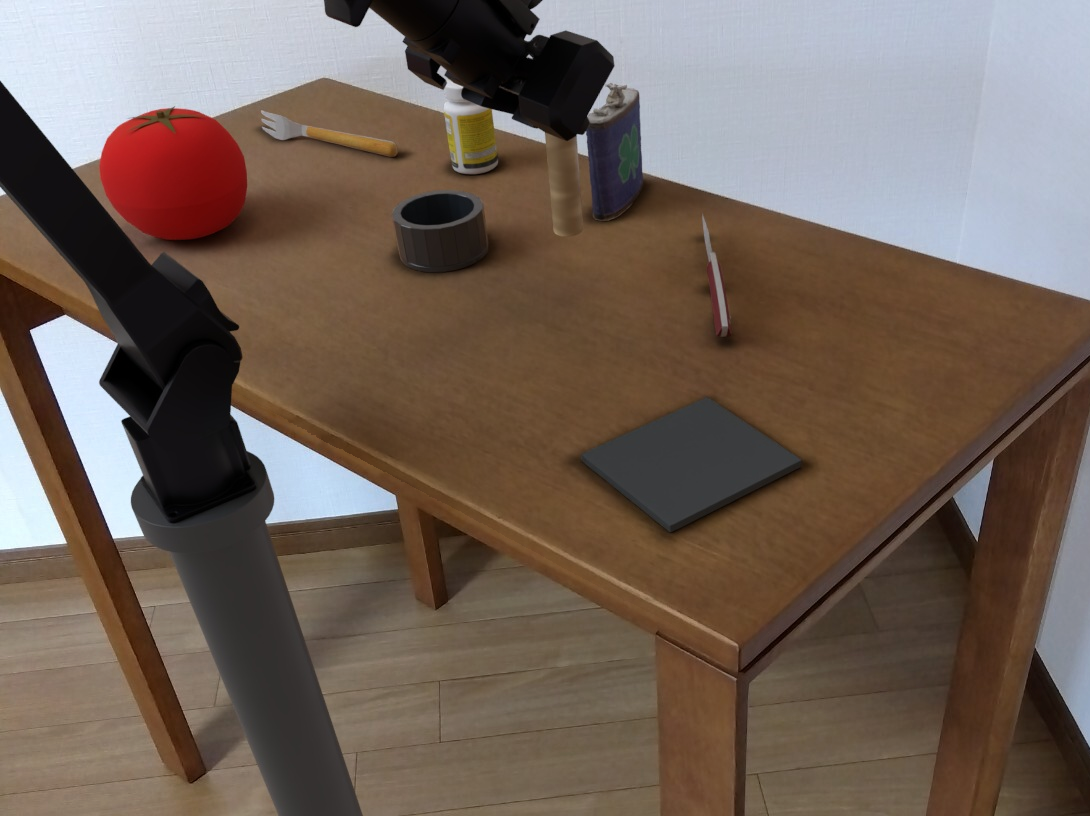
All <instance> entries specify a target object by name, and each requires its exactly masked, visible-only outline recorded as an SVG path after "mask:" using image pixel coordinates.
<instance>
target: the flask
mask: <svg viewBox="0 0 1090 816" xmlns="http://www.w3.org/2000/svg"><path fill="white" fill-rule="evenodd" d="M604 87H607V88H608V89H609V91H610V92H609V93H608V94H607V96H606V98H605V104H604V105H602V106H601V107H599V108H593V111H592V112H591V113H590V112H589V114H588V116H587V117H588V119H589V121H590V124H589V126H588V128H587V130H586V132H585V135H586V147H587V158H588V159H587V160H588V167H589V168H588V169H589V172H588V173H589V181H590V191H591V200H592V201H591V202H592V203H591V205H592V217H593V218H594V220H595V221H601V222H606V221H611V220H613V219H614V220H615V219H616V218H618V217H619V216H621V215H622V214H623V213H624V212H626V211H627V210H628V209H630V207H632V205H633V204H634V203H635V200H637V198H638V196H639V195H640V194H641V192H642V190H643V186H644V174H643V155H642V134H641V132H642V131H641V130H642V129H641V102H640V99H641V98H640V91H639V90H638V89H636V88H631V87H629V88H628V85H627V84H625V85H621V84H616V83H613V82H609V83H605V84H604Z"/></svg>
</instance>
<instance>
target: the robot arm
mask: <svg viewBox="0 0 1090 816" xmlns="http://www.w3.org/2000/svg"><path fill="white" fill-rule="evenodd" d="M543 1H544V0H323V5H324V13H325V15H326V17H328V18H330V19H333V20H335V21H338V22H341V23H343V24H346V25H348V26H351V27H354V28H358V27H360V26H361V24H362V23H363V21H364V19H365V17H366V15H367V13H368V11H369V9H370V10H371V11H373V12H374V13H375V14H376V15H378V16H379V17H380V18H381V19H383V21H385V22H386V23H388V24H389V25H390V26H391V27H392V28H394V29H395V30H396V31H398V32H399V33H400V34H401V35H402V36H404V38H403V40H402V43H403V44H404V45H405V46H406V48H405V50H404V54H405V61H406V67H407V70H408V71H410V73H412V74H414V75H415V76H416V77H417V78H419V79H420V80H421V81H423V82H424V83H425V84H428V85H430V86H432V87H434V88H437V89H440V90H442V91H444V88H445V86H446V84H447V81H446V80H447V79H449V80H451V81H452V82H453V83H455V84H457V85H460V86H462V87H463V89H462V91H461V96H462V98H463V99H465V100H467V101H470V102H472V103H474V104H477V105H479V106H482V107H485V108H489V109H492V111H498V112H501V113H506V114H510V115H512V116H511V120H513V121H516V122H518V123H520V124H523V125H525V126H527V127H530V128H531V129H537V130H538V129H539V130H540V131H541V132H543V133H545V132H546V133H548V134H550V135H553V136H555V137H558V138H560V139H562V140H565V141H569V140H570V139H572V138H574V137H575V136H577V137H578V135H580V136H583V135H585V134H586V130H587V128H588V126H589V124H590V121H589V119H588V117H587V116H588V115H589V114H590V112H591V110H592V108H593V106H594V104H596V103H595V102H596V101H597V99H598V97H599V96H600V94H601V92H602V90H603V88H604V87H605V85H606V84H607V81H608V79H609V77H610V75H611V73H612V71H613V70H614V68H615V57H614V55H613V54H612V53H611V52H610V51H609V50H608V49H607V48H605V46H604V45H603V44H601V43H600V41H598V40H597V39H594V38H592V37H591V38H590V37H588V36H585V35H581V34H578V33H576V32H573V31H570V30H563V31H559V32H555V33H553V34H550V35H549V37H548V36H546V35H543V34H536V35H535V36H533V37H532V38H531V39H529V40H525V39H526V37H527V36H532V35H533V33H534V32H535V29H536V27H537V26H538V24H539V22H540V20H541V18H539V17H538V15H536V13H534V12H533V11H532V9H535V8H536V7H538V5H540V4H541V3H542V2H543ZM441 67H442V68H443V69H444V70H445V73H444V77H446V78H447V79H446V78H444V77H443V76H442V75H441V74H440V73H438V72H439V71H440V68H441ZM0 189H1V190H2V191H3V192H4V193H5V194H6V195H7V196H8V198H9V199H10V200H11V201H12V202H13V203H14V205H15V206H16V207H17V208H18V209H19V210H20V212H22V213H23V215H24V216H25V217H26V218H27V219H28V220H29V221H30V223H32V225H33V226H34V228H36V229H37V230H38V231H39V233H40V234H41V235H42V236H43V238H45V240H47V242H48V243H49V244H50V246H52V247H53V248H54V249H55V250H56V252H57V253H58V254H59V255H60V256H61V257H62V259H64V261H65V262H66V263H67V264H68V265H69V266H70V268H71V269H72V270H73V271H74V272H75V273H76V274H77V275H78V277H79V278H80V279H81V280H82V281H83V282H84V284H85V285H86V287H87V289H88V291H89V292H90V295H91V297H92V298H93V301H94V303H95V305H96V308H97V309H98V311H99V314H100V315H101V318H102V319H103V321H104V322H105V324H106V325H107V327H108V329H109V331H110V332H111V334H112V335H113V337H114V339H115V340H116V342H117V345H116V346H115V349H114V350H113V352H112V354H111V357H110V359H109V361H108V362H107V364H106V366H105V368H104V370H103V373H102V374H101V377H100V378H99V381H98V384H99V386H100V387H101V388H102V390H103V391H105V393H107V395H109V397H111V398H112V399H113V401H114V402H115V403H116V404H117V405H119V407H120V408H121V409H122V410H123V411H124V412H125V413H126V414H127V415H128V417H125V418H123V419H121V420H120V423H121V425H122V428H123V430H124V432H125V434H126V437H127V439H128V442H129V445H130V447H131V449H132V452H133V454H134V457H135V459H136V461H137V464H138V466H139V469H140V471H141V473H142V475H141V477H140V479H141V482H142V485H143V486H144V488H145V489H146V490H147V492H148V493H149V495H150V496H151V498H152V499H153V501H154V502H155V504H156V505H157V507H158V508H159V509H160V511H161V512H162V514H163V515H164V517H165V518H166V520H167V521H168V522H169V523H177V522H180V521H182V520H185V519H187V518H190V517H192V516H194V515H197V514H199V513H202V512H204V511H207V510H209V509H211V508H214V507H216V506H219V505H221V504H224V503H226V502H228V501H231V500H233V499H236V498H238V497H240V496H243V495H245V494H248V493H250V492H252V491H254V490H255V489H256V484H255V481H254V480H253V479H252V478H251V476H250V475H249V474H248V473H247V471H248V470H250V468H251V463H250V460H249V457H248V454H247V451H248V450H247V448H246V445H245V441H244V438H243V436H242V432H241V429H240V427H239V424H238V421H237V420H236V418H234V417H233V415H232V413H231V411H232V408H231V407H232V394H233V384H235V381H236V379H237V377H238V374H239V372H240V368H241V367H240V366H241V361H242V360H243V358H244V357H243V352H242V347H241V346H240V344H239V342H238V340H237V338H236V337H235V335H233V333H232V332H235V331H238V330H240V325H239V324H238V323H236V322H235V321H234V320H233V319H232V318H230V317H229V316H228V315H227V314H225V313H224V312H223V311H222V310H220V308H219V307H218V305H217V304H216V301H215V299H214V298H213V295H212V294H211V292H210V290H209V289H208V288H207V286H206V285H205V283H204V281H203V280H202V279H201V278H199V277H198V276H197V275H195V274H194V273H193V272H192V271H190V270H188V269H187V268H186V267H185V266H184V265H182V264H181V263H180V262H179V261H177V260H176V259H174V257H172V256H170V254H168V253H167V252H165V251H162V252H161V253H160V254H159V256H158V257H157V258H156V259H155V260H154V262H153V263H150V262H149V261H148V259H147V258H146V257H145V256H144V255H143V254H142V252H141V251H140V249H139V248H138V247H137V246H136V245H135V243H134V242H133V241H132V240H131V238H130V237H129V236H128V235H127V234H126V233H125V232H124V230H123V229H122V228H121V227H120V225H119V224H118V223H117V221H116V220H115V219H114V218H113V216H112V215H111V214H110V213H109V212H108V210H107V209H106V208H105V206H103V204H102V203H101V202H100V201H99V200H98V198H97V197H96V195H94V193H93V192H92V191H91V190H90V188H89V187H88V186H87V184H86V183H85V182H84V181H83V180H82V178H80V176H79V175H78V174H77V172H76V171H75V170H74V169H73V167H72V166H71V165H70V164H69V162H68V161H66V159H65V158H64V156H63V155H62V154H61V153H60V152H59V150H58V149H57V148H56V147H55V146H54V144H53V143H52V142H51V141H50V139H49V138H48V136H46V135H45V133H44V132H43V131H42V130H41V128H40V127H39V126H38V125H37V124H36V122H35V121H34V120H33V118H32V117H31V116H30V115H29V113H28V112H26V110H25V109H24V108H23V106H22V105H21V104H20V103H19V101H18V100H17V98H15V96H14V95H13V94H12V93H11V92H10V90H9V89H8V88H7V87H6V85H5V84H4V83H3V82H2V81H1V80H0Z"/></svg>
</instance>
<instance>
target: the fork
mask: <svg viewBox="0 0 1090 816" xmlns="http://www.w3.org/2000/svg"><path fill="white" fill-rule="evenodd" d="M260 113H261V114H262V115H263V118H262V117H261V122H262V123H263V124H265V125H266V126H268V127H269V128H267V127H264V126H261V128H262V130H263V131H264V132H265V133H267V134H268V135H270V136H271V137H272V138H274V139H277V140H279V141H286V140H289V139H291V138H292V139H293V138H296V137H301V136H303V137H306V138H311V139H315V140H319V141H322V142H323V141H324V142H327V143H331V144H336V145H339V146H345V147H348V148H352V149H356V150H360V151H365V152H367V153H368V152H369V153H373V154H378V155H380V156H385V157H389V158H394V157H396V156H397V155H398V153H399V147H398V144H397V143H396V142H394V141H391V140H387V139H381V138H376V137H370V136H365V135H359V134H354V133H348V132H343V131H339V130H337V131H336V130H333V129H328V128H322V127H317V126H311V125H306V124H302V123H298V122H296V121H294V120H291V119H289V118H287V117H285V116H284V115H281V114H276V113H271V112H268V111H266V110H262V109H261V110H260ZM264 117H266V118H268V119H270V120H268V119H265V118H264ZM271 120H272V121H271Z"/></svg>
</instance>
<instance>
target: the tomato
mask: <svg viewBox="0 0 1090 816" xmlns="http://www.w3.org/2000/svg"><path fill="white" fill-rule="evenodd" d="M175 107H176V106H175V105H173V106H172V107H168V108H167V107H166V108H159V109H154V110H150V111H148V112H144V113H142V114H139V115H138V116H137V115H136V116H132V117H131V118H129V120H126V121H125V122H122V123H121V124H119V125H118V126H116V128H115V129H114V130H113V131H112V132H111V133H110V134H109V135H108V137H107V138H106V140H105V143H104V145H103V148H102V150H101V154H100V158H99V159H100V160H99V168H98V169H99V178H100V179H99V180H100V182H101V184H102V188H103V190H104V193H105V196H106V198H107V199H108V201H109V202H110V205H111V206H112V207H113V209H114V210H115V211H116V212H117V213H118V214H119V215H120V216H121V217H122V218H123V219H124V220H125V221H126V222H127V223H129V224H130V225H131V226H133V227H134V228H135V229H137V230H138V231H140V232H141V233H144V234H146V235H149V236H151V237H154V238H157V239H163V240H171V241H181V240H183V241H185V240H195V239H200V238H203V237H206V236H210V235H212V234H215V233H217V232H220V231H222V230H224V229H225V228H227V227H228V226H230V225H231V224H232V223H233V222H234V221H235V220H236V219H237V217H238V216H239V215H240V214H241V211H242V210H243V207H244V205H245V203H246V198H247V191H248V171H247V165H246V160H245V155H244V153H243V152H242V149H241V148H240V146H239V143H238V142H237V141H236V140H235V138H234V137H233V135H231V133H230V132H229V131H228V130H227V129H226V128H225V127H224V126H223V125H222V124H221V123H220V122H219V121H218V120H217V119H216V118H213V117H211V116H209V115H206V114H204V113H203V112H200V111H198V110H193V109H187V108H178V107H177V108H175Z"/></svg>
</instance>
